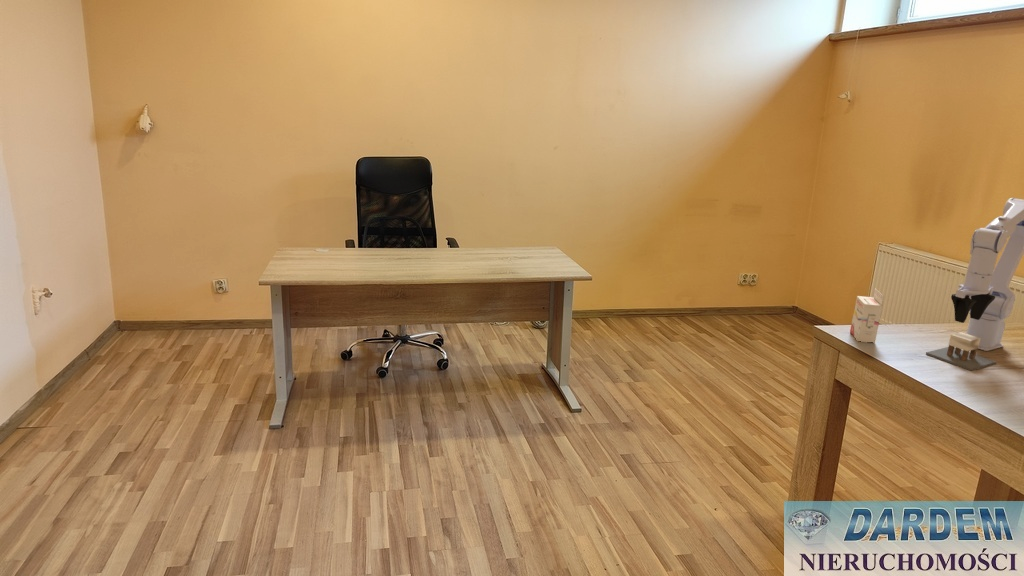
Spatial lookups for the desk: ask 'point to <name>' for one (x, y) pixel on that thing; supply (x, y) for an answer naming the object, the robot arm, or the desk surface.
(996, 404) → the desk surface
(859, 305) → the ink cartridge box
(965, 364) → the mat
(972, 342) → the stool
